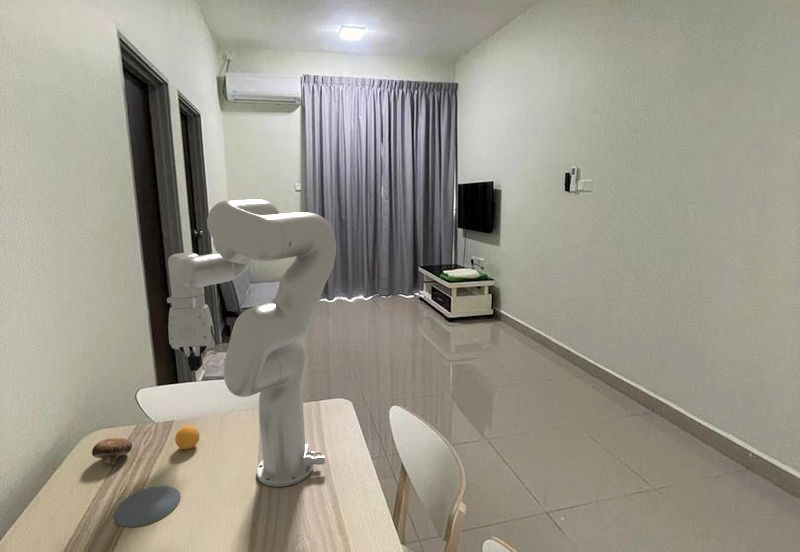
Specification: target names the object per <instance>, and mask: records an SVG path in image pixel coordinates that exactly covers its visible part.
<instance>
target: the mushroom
mask: <svg viewBox="0 0 800 552" xmlns="http://www.w3.org/2000/svg"><path fill="white" fill-rule="evenodd" d="M132 448H133V444H132V442H131V441H130V440H128V439H126V438H123V437H115V438H114V437H111V438H106V439H102V440H100V441H99V442H98V443H96V444H95V445H93V448H92V451H91V455H92V457H94V458H97V459H98V458H99V459H101V460H102V462H103V463H105V464H108V465H112V466H116V462H117V459H118V458H119V457H120V456H123V455H126V454H128V453H130V452H131V450H132Z"/></svg>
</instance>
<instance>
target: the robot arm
mask: <svg viewBox="0 0 800 552" xmlns="http://www.w3.org/2000/svg"><path fill="white" fill-rule="evenodd" d="M206 224H207V230H208V233H209V235H210V236H211V238H212V243H213V246H214V249H215V251H216V252H215V253H209V254H202V255H199V254H197V253H195V252H180V253H175V254H172V255H170V256H169V257H168V259H167V260H168V261H167V265H168V274H169V281H170V282H169V283H170V293H171V296H169V297H167V298H166V302H167V304H169V303H170V304H171V307H170V308H169V311H168V325H167V327H168V340H169V341H168V343H169V345H170V347H171V348H172V349H173V350H180V351H181V352H182V353H183V354H184V356H185V357H187V363H188V367H189V370H190V372H193V371H194V372H197V371H199V369H201V368H202V366H203V357H202V353H203V352H204V351H205V350H209V349H212V348H214V347H215V346H216V343H215V340H214V339H215V329H214V328H215V327H214V323H213V319H212V315H211V310H210V307H209V305H208V304H206V300H205V298H206V296H205V288H204V287H207V286H211V285H212V286H213V285H217V284H218V285H219V284H223V283H228V282H230V281H233V280H235V279H237V278H239V276H241V275H242V274H244V273H245V272H246V271H247V270H248V269H249V268H250V266H251V260H254V261H257V262H273V261H278V260H284V259H290V258H294V257H295V259H294V260H293V262H292V263H291V264H290V265H289V267H287V269H286V270H285V272H284V273H283V275H282V276H281V279H280V282H279V285H278V288H277V292H276V295H275V296H274V297H273V299H272V300H271V301H269V302H266V303H264V304H260V305H257V306H256V305H255V306H253V307H250V308H248V309H246V310H244V311H242V313H240V314H239V316H238V317H237V318H236V319H235V321H234V324H233V327H232V331H231V335H230V338H229V343H228V345H227V346H228V347H227V350H226V355H225V358H224V363H223V380H224V383H225V386H226V388H227V389H228V391H229V392H230V393H232V394H233V395H234V396H236V397H240V398H247V397H252V396H254V395H256V394H259V397H258V412H259V413H258V414H259V426H260V439H261V440H260V441H261V453H262V460H261V461H260V462H259V463H258V465H257V466H256V477H257V479H258V480H259V482H261V484H262V483H263V484H264V485H266V486H268V487H269V486H270V487H274V488H275V487H276V488H277V487H279V488H282V487H287V486H292V485H294V484H297V483H300V482H301V481H303V480H305V479H306V478H307V477H308V476H309V475H310V474H311V473H312V472H313V468H314V465H316V466H318V465H319V466H320V465H326V455H323V454H322V451H321V450H313V451H312V450H311V449H309V443H306V436H305V433H306V432H305V416H304V397H303V381H304V375H305V368H306V366H305V365H306V353H305V350H304V347H303V345H302V344H301V342H300V341H302V340H303V339H304V338H305V337H306V336H307V335H308V334H309V331H310V329H311V326H312V324H313V321H314V317H315V315H316V312H317V309H318V306H319V303H320V300H321V296H322V294H323V291H324V288H325V286H326V283H327V281H328V279H329V277H330V275H331V272H332V271H333V268H334V265H335V262H336V261H335V260H336V256H337V242H336V241H337V240H336V236H335V233H334V231H333V227H332V226H331V224H330V223H329V221H327V220H326V218H324V217H323V216H321V215H319V214H318V213H313V212H306V211H305V212H304V211H302V212H301V211H299V212H297V211H296V212H285V213H280V211H279V210H278V208H277V207H276V206H275V205H274V204H273V203H271V202H270V201H268V200H264V199H257V198H253V199H232V200H231V199H227V200H222V201H219V202H217V203H216V204H215V205H213V206H212V207H211V209H210V210H209V212H208V216H207V220H206Z"/></svg>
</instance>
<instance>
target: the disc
mask: <svg viewBox="0 0 800 552" xmlns="http://www.w3.org/2000/svg"><path fill="white" fill-rule="evenodd" d="M181 498H182V497H181V492H180V490H179V489H177V488H175V487H174V486H170V485H157V486H156V485H155V486H150V487H147V488H144V489H142V490H139V491H137V492H135V493H132V494H131V495H129V496H128V497H126V498H125V499H124V500H123V501H121V502H120V503H119V505H118V506H117V507H116V508H115V511H114V513H113V518H114V521H115V522H116V524H117V525H119V526H121V527H125V528H138V527H144V526H147V525H150V524H153V523H156V522H158V521H160V520H162V519H164V518H165V517H167V516H168V515H169V514H171V513H172V512H173V511H174V510H175V509H176V508H177V507H178V505H179V503H180V502H181Z"/></svg>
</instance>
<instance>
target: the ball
mask: <svg viewBox="0 0 800 552" xmlns="http://www.w3.org/2000/svg"><path fill="white" fill-rule="evenodd" d="M199 440H200V432H199V430H198V429H197V427H196V426H195V427H194V426H193V425H186V426H184V427H181V428H180V429H179V430H178V431H177V432H176V434H175V445H177V447H178V448H179V449H181V450H191V449H192V448H194V447H196V445H197V444H198V443H199Z"/></svg>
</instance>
